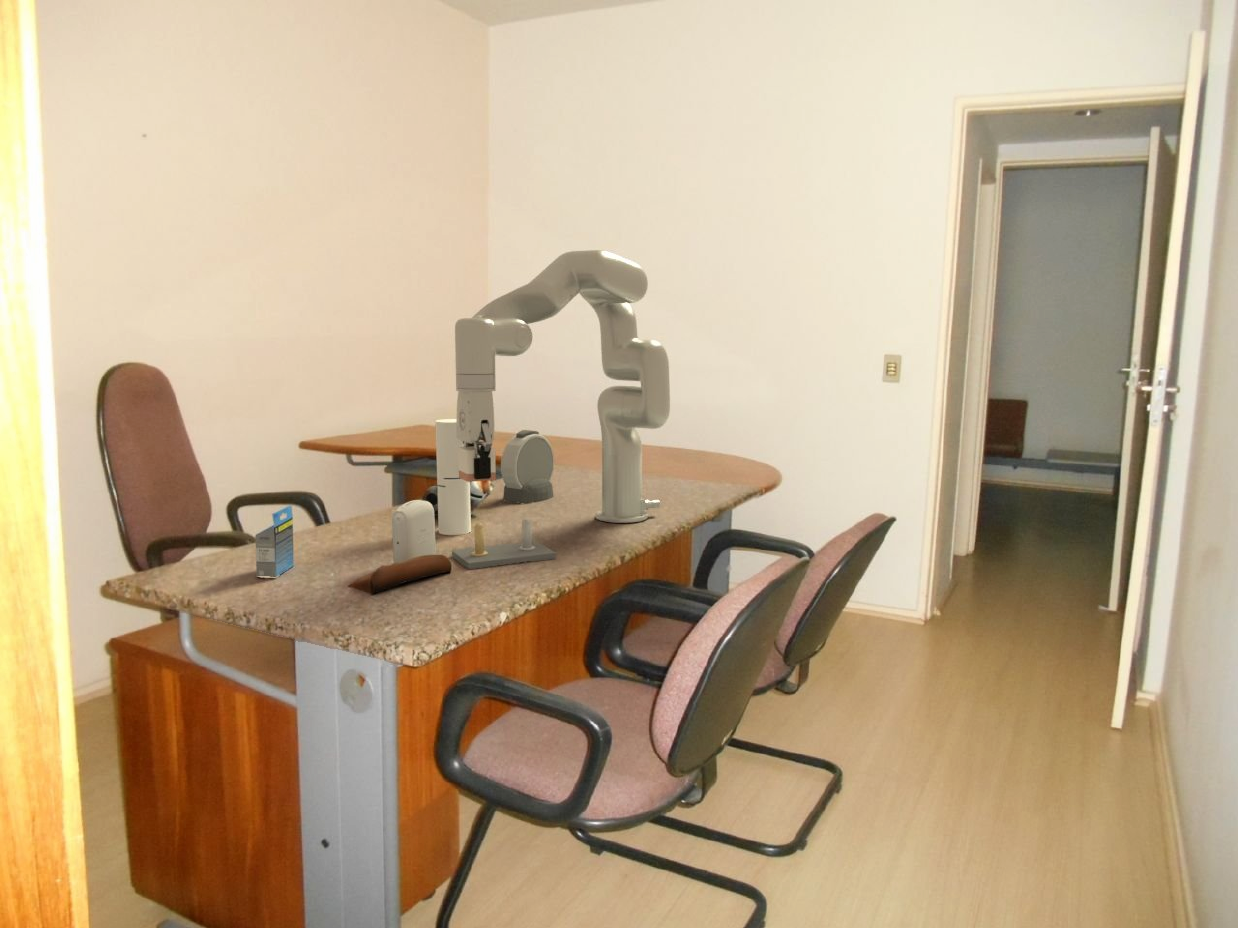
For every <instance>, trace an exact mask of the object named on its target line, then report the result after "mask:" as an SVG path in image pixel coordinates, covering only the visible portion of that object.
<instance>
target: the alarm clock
mask: <svg viewBox="0 0 1238 928" xmlns="http://www.w3.org/2000/svg"><path fill="white" fill-rule="evenodd" d="M549 441H550V440H548V439H547V438H546V437H545V436H543V434H542V435H541V434H540V432H539V431H537V430H530V429H522V430H520V431H518V432H517V433H515V434H514V436H513V437H511V438H510V439H509V440H508V442H507V443H506V445H505V446H504V449H503V452H502V455H501V459H500V473H501V474H500V475H501V477H502V480H503V483H504V487H503V488H504V489H503V499H502V500H505V501H504V502H508V501H509V502H510V503H514V502H519V503H518V504H521V503H526V504H531V503H532V502H534V503H538V502H543V501H544V502H545V501H548V500H550V499H553V498H554V497H555V496H554V488H553V483H552V482H551V480H552V477H553V475H554V470H555V453H554V449H553V447H552V445H551V443H550V442H549ZM532 504H533V503H532Z"/></svg>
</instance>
